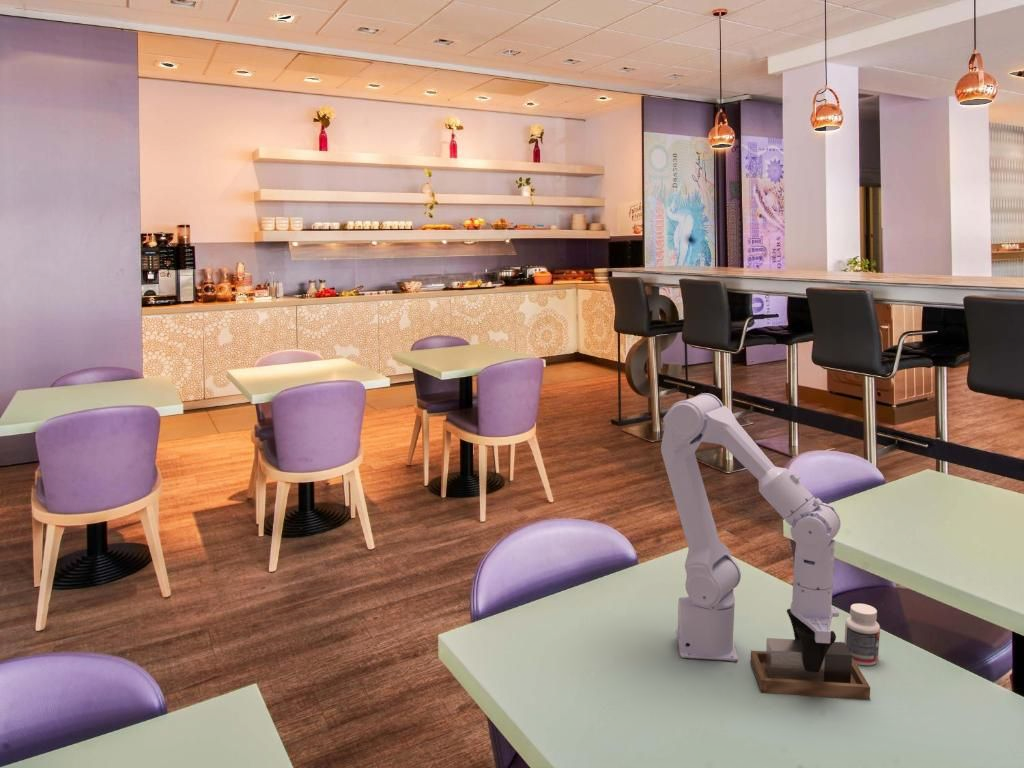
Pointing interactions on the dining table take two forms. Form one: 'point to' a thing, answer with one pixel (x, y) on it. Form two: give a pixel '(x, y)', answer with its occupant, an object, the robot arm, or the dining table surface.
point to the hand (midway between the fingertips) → (808, 662)
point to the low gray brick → (789, 662)
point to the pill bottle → (862, 634)
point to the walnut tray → (809, 682)
